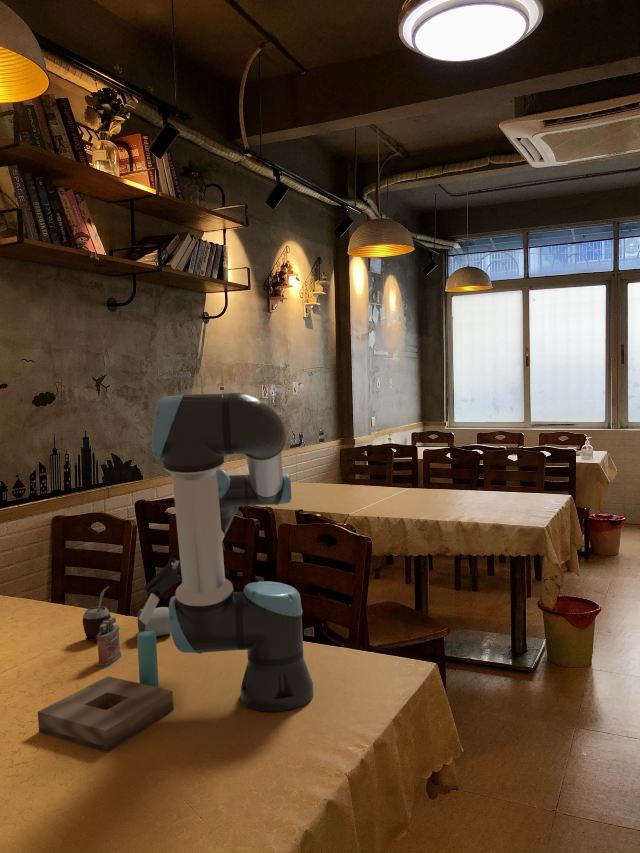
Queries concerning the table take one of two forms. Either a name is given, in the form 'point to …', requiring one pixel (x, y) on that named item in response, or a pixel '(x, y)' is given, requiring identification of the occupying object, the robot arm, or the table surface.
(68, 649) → the table surface
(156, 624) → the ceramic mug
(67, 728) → the hole board
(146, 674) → the pin
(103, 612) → the mate gourd
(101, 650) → the lighter
